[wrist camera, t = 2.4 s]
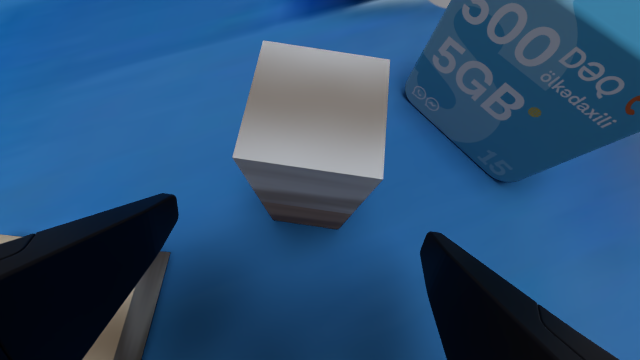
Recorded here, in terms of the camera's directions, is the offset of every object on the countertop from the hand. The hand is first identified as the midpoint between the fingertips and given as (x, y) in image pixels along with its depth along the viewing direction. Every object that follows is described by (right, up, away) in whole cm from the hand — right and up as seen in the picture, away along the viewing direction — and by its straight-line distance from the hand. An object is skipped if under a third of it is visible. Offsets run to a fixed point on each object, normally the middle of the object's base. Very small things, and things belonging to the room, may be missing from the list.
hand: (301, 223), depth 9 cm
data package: (+14, +7, +15) cm, 21 cm away
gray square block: (0, +1, +11) cm, 12 cm away
